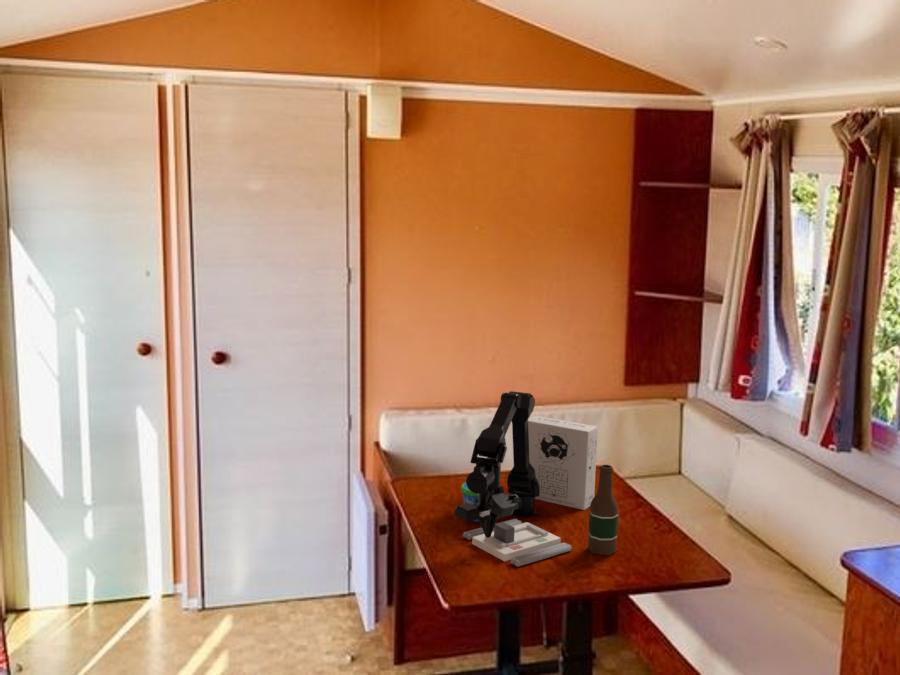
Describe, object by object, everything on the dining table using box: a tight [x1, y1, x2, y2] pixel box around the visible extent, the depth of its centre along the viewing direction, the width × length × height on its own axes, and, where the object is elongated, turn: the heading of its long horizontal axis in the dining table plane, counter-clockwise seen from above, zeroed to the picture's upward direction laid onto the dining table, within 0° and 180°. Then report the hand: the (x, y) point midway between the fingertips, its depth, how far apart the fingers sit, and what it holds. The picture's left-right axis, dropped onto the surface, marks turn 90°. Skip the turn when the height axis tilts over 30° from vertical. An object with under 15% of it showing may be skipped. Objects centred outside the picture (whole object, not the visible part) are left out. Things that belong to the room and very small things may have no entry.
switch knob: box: [494, 521, 514, 544], centre depth 245 cm, size 3×5×4 cm, turn 36°
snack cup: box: [460, 481, 480, 523], centre depth 266 cm, size 16×10×10 cm
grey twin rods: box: [462, 518, 573, 568], centre depth 248 cm, size 20×24×2 cm
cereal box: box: [528, 415, 599, 511], centre depth 282 cm, size 22×8×25 cm, turn 58°
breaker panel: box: [471, 522, 562, 563], centre depth 248 cm, size 20×14×3 cm
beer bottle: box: [587, 464, 619, 556], centre depth 243 cm, size 8×8×24 cm
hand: (487, 537), depth 241 cm, fingers closed
